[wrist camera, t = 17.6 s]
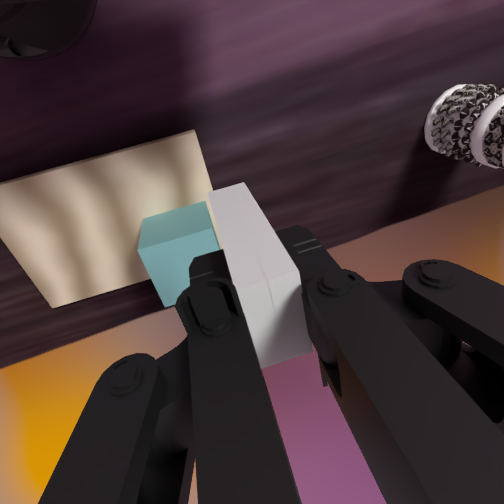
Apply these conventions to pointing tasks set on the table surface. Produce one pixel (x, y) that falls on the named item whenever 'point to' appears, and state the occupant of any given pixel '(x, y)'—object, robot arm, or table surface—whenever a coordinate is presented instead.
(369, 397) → the robot arm
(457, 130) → the decorative candle
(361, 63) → the table surface
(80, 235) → the base board
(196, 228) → the teal cube
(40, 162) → the table surface
